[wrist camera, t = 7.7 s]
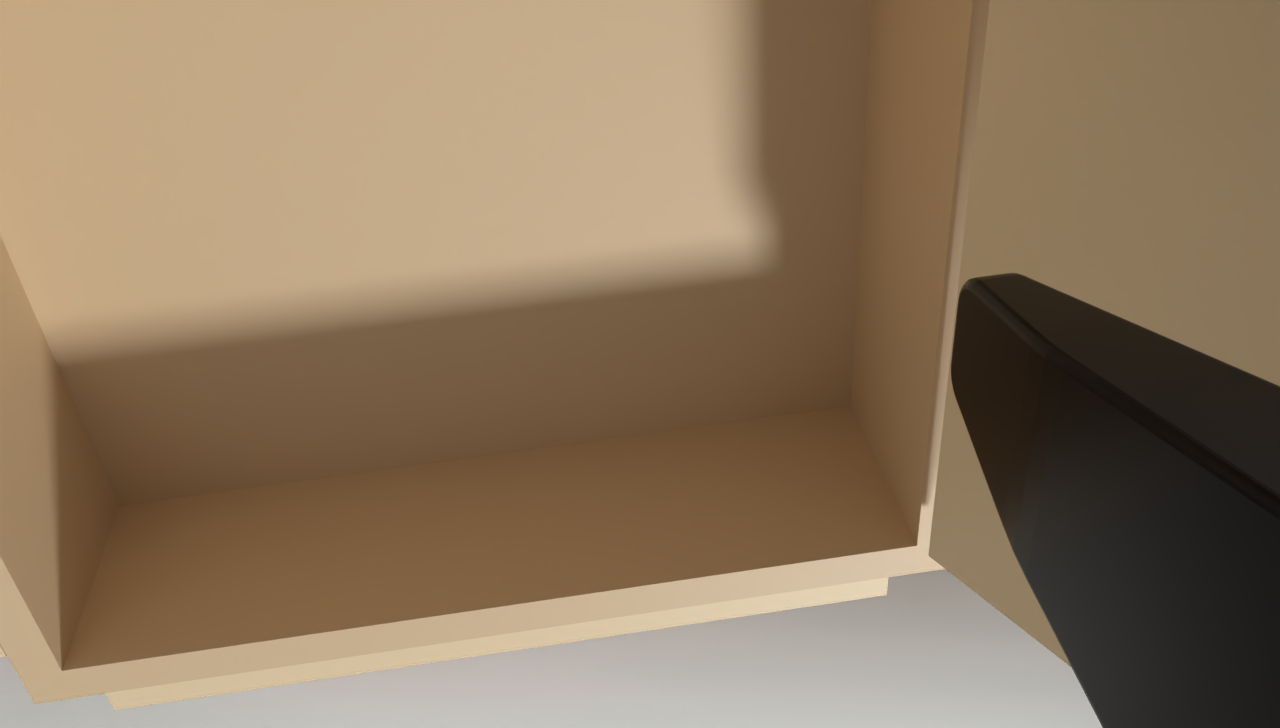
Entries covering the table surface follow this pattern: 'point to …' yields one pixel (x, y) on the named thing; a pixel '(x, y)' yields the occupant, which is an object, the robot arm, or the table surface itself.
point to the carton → (463, 324)
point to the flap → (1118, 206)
